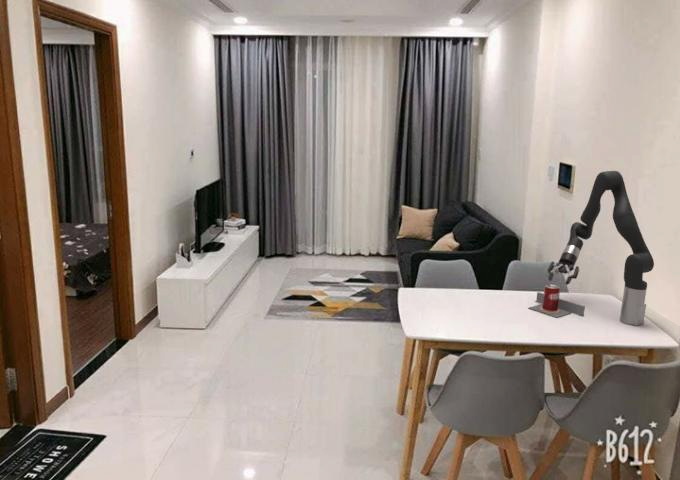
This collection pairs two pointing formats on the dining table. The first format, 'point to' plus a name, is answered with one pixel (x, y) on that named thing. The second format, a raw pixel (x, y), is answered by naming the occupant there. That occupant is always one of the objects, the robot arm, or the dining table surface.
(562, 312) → the mat
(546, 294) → the soda can
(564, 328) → the dining table surface
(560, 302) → the low wall
